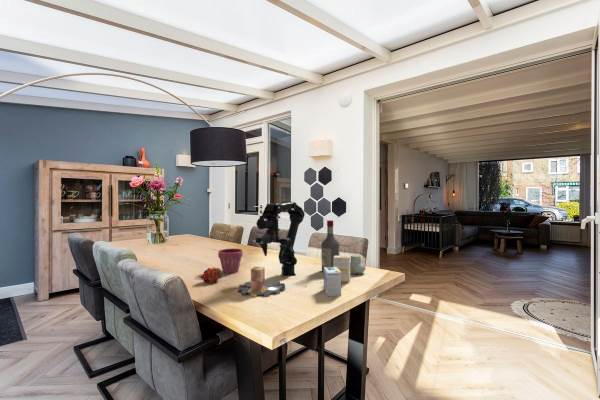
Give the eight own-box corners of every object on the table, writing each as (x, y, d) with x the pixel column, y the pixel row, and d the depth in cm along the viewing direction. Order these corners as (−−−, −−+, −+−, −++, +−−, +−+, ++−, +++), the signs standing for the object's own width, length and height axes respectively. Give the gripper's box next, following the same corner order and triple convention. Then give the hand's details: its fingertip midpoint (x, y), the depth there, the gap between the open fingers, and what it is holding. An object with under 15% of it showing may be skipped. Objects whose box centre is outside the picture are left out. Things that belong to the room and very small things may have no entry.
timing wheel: (248, 281, 165) (248, 278, 165) (290, 283, 160) (290, 280, 160) (229, 295, 142) (229, 292, 142) (278, 298, 138) (278, 295, 138)
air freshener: (368, 273, 177) (367, 256, 176) (357, 276, 172) (357, 258, 172) (354, 269, 186) (354, 253, 185) (344, 272, 181) (343, 255, 181)
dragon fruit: (224, 283, 167) (202, 290, 160) (218, 271, 172) (197, 278, 165) (226, 273, 162) (203, 280, 155) (219, 261, 167) (197, 268, 160)
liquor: (328, 274, 177) (327, 221, 176) (320, 270, 185) (319, 220, 184) (341, 271, 181) (341, 220, 180) (332, 268, 189) (332, 219, 189)
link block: (264, 287, 148) (264, 267, 148) (261, 291, 144) (260, 269, 143) (254, 287, 149) (254, 266, 149) (251, 290, 145) (250, 269, 144)
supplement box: (350, 280, 164) (350, 255, 164) (349, 283, 159) (348, 257, 159) (335, 279, 167) (335, 255, 166) (333, 281, 162) (333, 256, 162)
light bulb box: (323, 289, 150) (323, 266, 150) (337, 288, 151) (336, 266, 151) (327, 296, 140) (326, 272, 139) (341, 295, 140) (341, 272, 140)
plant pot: (247, 270, 187) (247, 249, 187) (231, 276, 175) (230, 253, 175) (230, 267, 195) (230, 247, 194) (213, 272, 183) (213, 251, 182)
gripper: (249, 228, 160) (250, 258, 161) (281, 229, 153) (282, 261, 153) (260, 226, 170) (261, 254, 171) (291, 227, 163) (291, 256, 163)
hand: (273, 256), depth 164 cm, fingers open, 9 cm apart
